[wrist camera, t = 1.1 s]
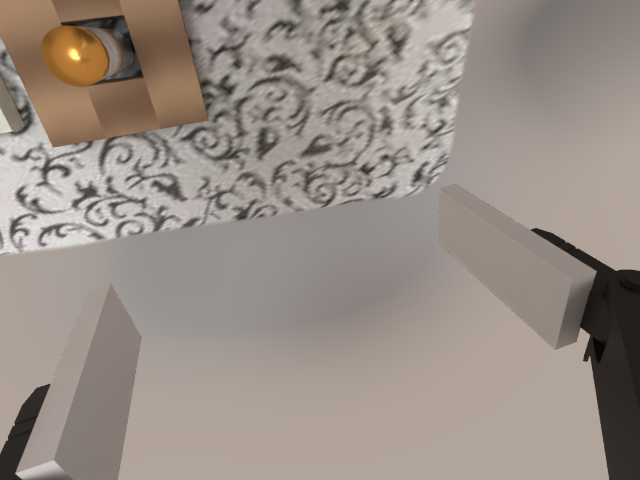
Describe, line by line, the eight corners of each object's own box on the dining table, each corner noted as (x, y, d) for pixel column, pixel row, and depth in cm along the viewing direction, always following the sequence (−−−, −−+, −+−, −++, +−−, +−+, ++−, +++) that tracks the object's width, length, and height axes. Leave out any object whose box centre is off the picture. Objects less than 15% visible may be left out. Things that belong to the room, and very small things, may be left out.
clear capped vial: (85, 31, 30) (30, 29, 20) (125, 26, 30) (92, 22, 20) (100, 72, 31) (56, 90, 21) (138, 67, 32) (113, 82, 22)
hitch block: (-11, -33, 27) (-36, -42, 24) (165, -49, 29) (162, -58, 26) (65, 137, 33) (53, 147, 30) (206, 113, 35) (208, 120, 32)
